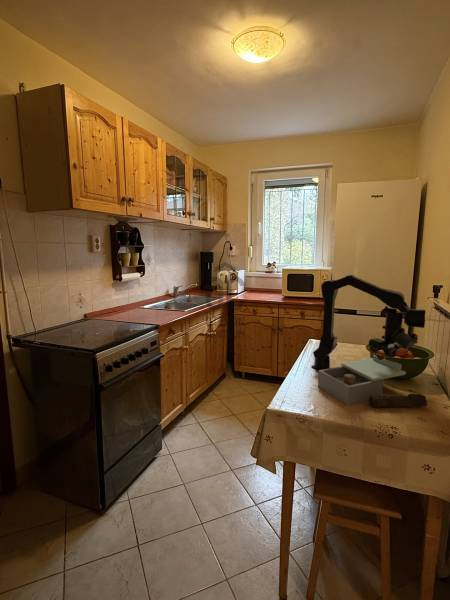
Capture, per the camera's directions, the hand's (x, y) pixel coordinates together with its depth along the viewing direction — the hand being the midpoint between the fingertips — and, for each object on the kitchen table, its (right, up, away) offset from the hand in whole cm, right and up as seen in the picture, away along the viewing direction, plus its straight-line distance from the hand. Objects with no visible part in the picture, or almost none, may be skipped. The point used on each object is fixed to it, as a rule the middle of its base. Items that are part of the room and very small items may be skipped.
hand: (389, 362), depth 126 cm
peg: (-19, -10, -6) cm, 22 cm away
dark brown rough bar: (-6, -12, -17) cm, 21 cm away
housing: (-19, -10, -6) cm, 22 cm away
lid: (-8, -2, -3) cm, 9 cm away
